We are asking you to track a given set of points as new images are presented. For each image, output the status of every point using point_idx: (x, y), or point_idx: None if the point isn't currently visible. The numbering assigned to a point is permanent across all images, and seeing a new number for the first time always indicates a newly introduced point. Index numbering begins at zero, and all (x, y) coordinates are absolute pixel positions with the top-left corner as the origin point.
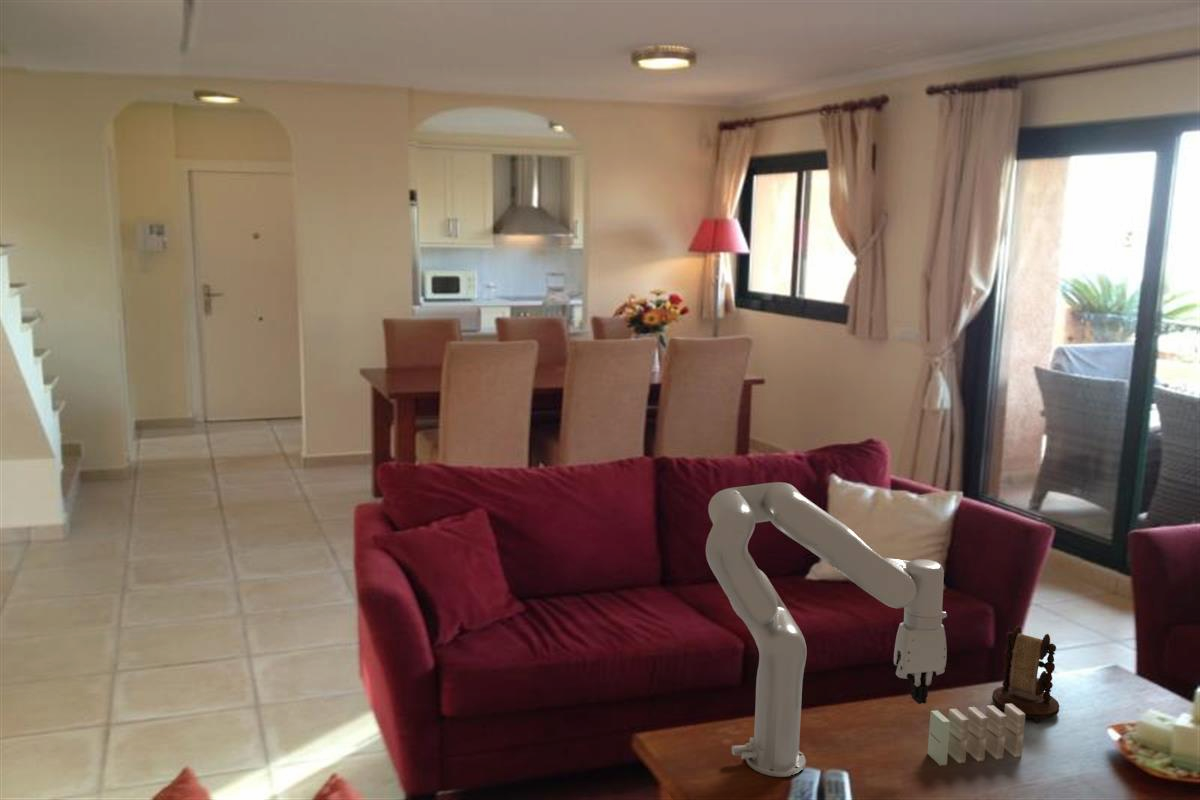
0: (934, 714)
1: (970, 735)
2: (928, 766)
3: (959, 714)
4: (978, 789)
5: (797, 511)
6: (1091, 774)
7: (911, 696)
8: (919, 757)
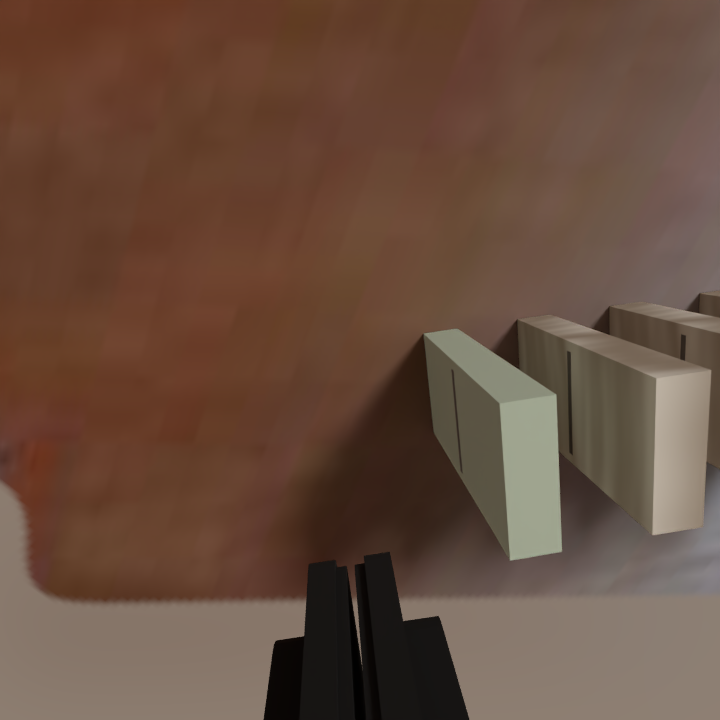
0: (502, 451)
1: None
2: (381, 438)
3: (681, 459)
4: (502, 591)
5: None
6: None
7: (278, 641)
8: (371, 365)
